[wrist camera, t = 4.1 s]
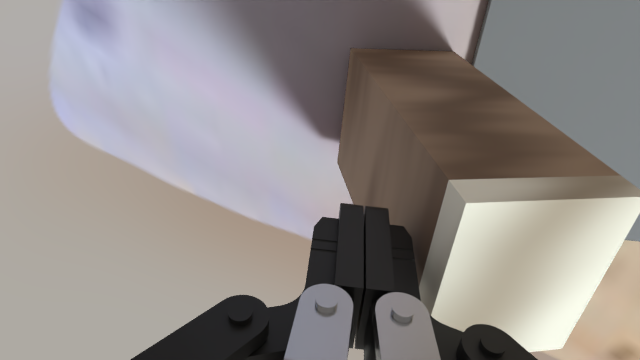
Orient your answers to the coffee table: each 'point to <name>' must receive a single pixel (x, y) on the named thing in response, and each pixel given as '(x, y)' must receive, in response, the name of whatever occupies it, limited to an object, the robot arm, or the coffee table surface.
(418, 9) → the coffee table surface
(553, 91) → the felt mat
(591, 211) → the brown wooden block
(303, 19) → the coffee table surface
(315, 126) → the coffee table surface
